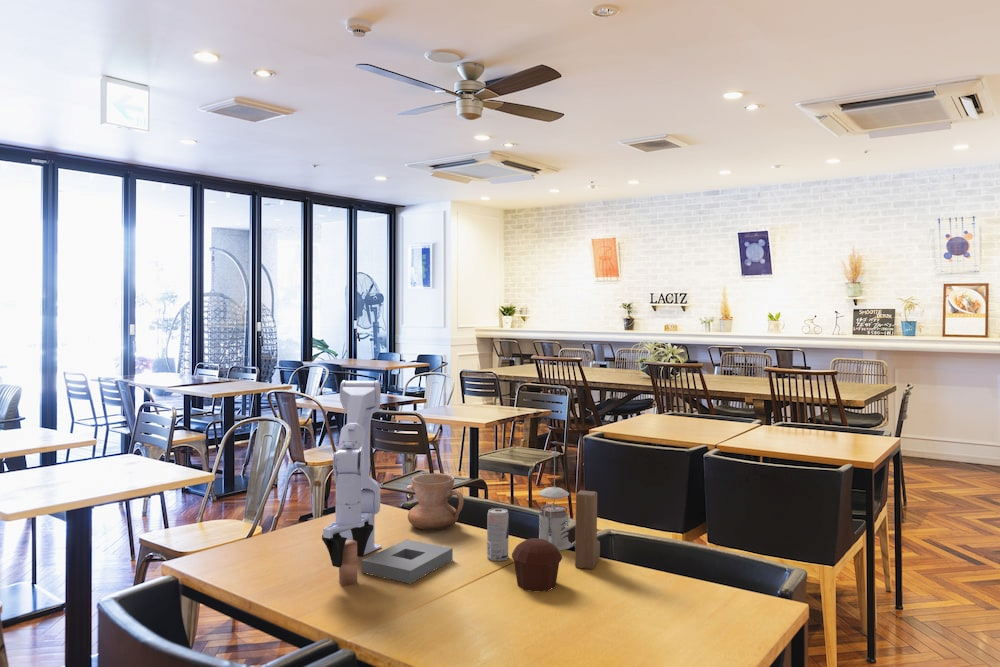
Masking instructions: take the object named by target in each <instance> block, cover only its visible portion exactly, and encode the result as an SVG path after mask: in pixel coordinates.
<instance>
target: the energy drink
mask: <svg viewBox="0 0 1000 667" xmlns="http://www.w3.org/2000/svg"><path fill="white" fill-rule="evenodd" d="M486 518H487V524H486V526H487V528H486V531H487V532H486V535H487V536H486V548H487V549H486V550H487V551H486V558H487V559H488V560H489V559H490V561H491V560H493V561H492V562H503V561H504V562H505V561H506V560H508V558H509V538H510V537H509V535H510V533H509V526H510V524H509V522H510V517H509V510H508V509H507V508H503V507H496V508H495V507H492V508H490V509H488V512H487V517H486Z"/></svg>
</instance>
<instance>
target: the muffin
mask: <svg viewBox="0 0 1000 667" xmlns="http://www.w3.org/2000/svg"><path fill="white" fill-rule="evenodd" d="M560 551H561V550H558V548H557V547H556V546H555V545H553V544H552V543H550V542H549V541H547V540H544V539H539V537H537V538H536V537H535V538H533V537H532V538H527V539H525V540H523V541H521V542H519V543H518V544H517V545H516V547H515V548H514V549H513V551H512V553H511V558H512V560H513V563H514V569H515V576H516V583H517V587H519V588H521V589H522V588H523V589H522V590H524V591H528V590H531V591H530V592H533V591H540V592H549V591H551V590H552V589H551V588H553V589H555V588H556V585H557V579H558V573H559V566H560V563H561V561H562V560H563V554H562V553H561V552H560ZM554 587H555V588H554ZM550 589H551V590H550ZM548 590H549V591H548Z"/></svg>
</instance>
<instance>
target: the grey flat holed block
mask: <svg viewBox="0 0 1000 667" xmlns="http://www.w3.org/2000/svg"><path fill="white" fill-rule="evenodd" d="M453 553H454V552H453V547H450V546H448V547H447V546H442V545H439V544H438V545H437V544H434V543H433V544H432V543H427V542H422V541H421V542H420V541H417V540H411V539H405V540H404V539H403V541H400V542H398V543H396V544H394V545H391V546H390V547H388V548H385V549H382V550H381V551H379V552H376V553H374V554H372V555H370V556H368V557H365V558H363V559H362V560H361V573H362V572H363V573H362V574H364V573H368V574H367V575H369V574H373V575H376V576H375V577H378V576H380V577H379V578H382V577H385V578H384V579H387V578H388V579H387V580H391V579H393V580H392V581H395V580H397V581H396V582H400V581H402V582H401V583H404V582H407V583H406V584H409V583H411V584H412V582H413V583H414V581H415V580H416V581H418V580H419V578H420V577H422V576H424V575H425V574H427V573H429V572H431V571H432V572H434V571H435V570H434V569H436V568H438V567H440V566H441V567H443V566H445V565H447V564H448V563H450V562H452V561H453V558H454V557H453V555H454V554H453ZM451 560H452V561H451ZM446 563H447V564H446ZM444 564H445V565H444ZM442 565H443V566H442ZM441 567H440V568H441ZM438 569H439V568H438ZM433 570H434V571H433ZM436 570H437V569H436ZM432 572H431V573H432ZM429 574H430V573H429ZM373 575H372V576H373ZM427 575H428V574H427ZM425 576H426V575H425ZM425 576H424V577H425ZM422 578H423V577H422ZM417 579H418V580H417ZM420 579H421V578H420ZM416 581H415V582H416Z"/></svg>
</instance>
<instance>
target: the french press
mask: <svg viewBox="0 0 1000 667" xmlns="http://www.w3.org/2000/svg"><path fill="white" fill-rule="evenodd" d="M550 455H551V457H553V461H554V463H553V464H554V465H553V467H554V468H553V486H551V487H550V486H549V487H546V488H544V489H542V490H540V491H539V492H538V495H539V496H540V497H541V498H544V499H550V500H551V499H553V502H552V503H551V504H549V503H548V501H546V502H545V505H542V506H541V507H540V512H539V514H538V517H539V518H538V521H539V524H538V525H539V526H538V527H539V528H538V532H539V533H538V538H539V539H544V540H547V541H549V542H550V543H552V544H553V545H555V546H556V547H557V548H558V550H559V551H564V550H568V549H570V548H571V547H572V543H571V541H569V532H568V531H569V513H568V512H567V511H568V507H566V506H563V505H561V504H560V505H559V504H555V499H556V500H558V499H564V498H567V497H569V496H570V492H568V491H567V490H565V489H563V488H561V487H556V482H555V481H556V457H558V456H559V453H558V452H557V451H552V452H551V453H550Z"/></svg>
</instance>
